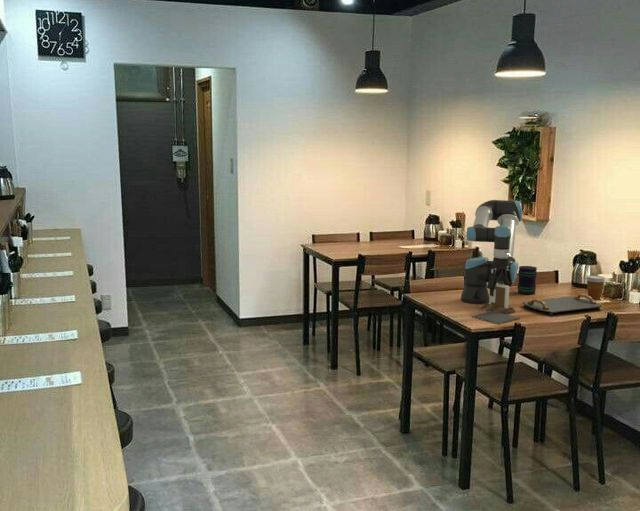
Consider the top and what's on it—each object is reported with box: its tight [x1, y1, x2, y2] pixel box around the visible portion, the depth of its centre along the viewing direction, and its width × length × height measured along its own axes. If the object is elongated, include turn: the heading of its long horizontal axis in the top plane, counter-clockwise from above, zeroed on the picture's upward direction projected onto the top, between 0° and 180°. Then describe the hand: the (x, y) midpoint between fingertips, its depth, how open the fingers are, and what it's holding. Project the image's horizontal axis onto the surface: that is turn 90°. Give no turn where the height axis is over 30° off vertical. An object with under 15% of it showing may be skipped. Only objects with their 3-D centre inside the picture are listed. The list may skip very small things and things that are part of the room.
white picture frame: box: [488, 283, 510, 308], centre depth 316 cm, size 10×2×12 cm, turn 38°
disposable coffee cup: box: [585, 275, 606, 300], centre depth 344 cm, size 10×10×12 cm
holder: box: [481, 303, 516, 315], centre depth 317 cm, size 14×8×3 cm, turn 38°
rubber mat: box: [471, 311, 521, 325], centre depth 303 cm, size 16×16×1 cm
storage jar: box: [517, 265, 538, 296], centre depth 355 cm, size 10×10×15 cm
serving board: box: [521, 293, 604, 317], centre depth 322 cm, size 39×23×6 cm, turn 113°
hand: (499, 300), depth 316 cm, fingers open, 10 cm apart
